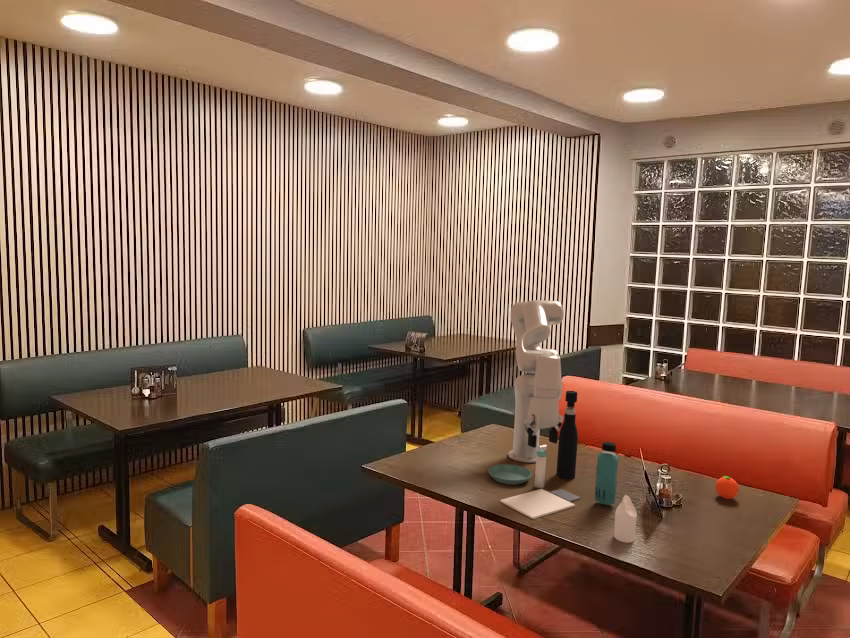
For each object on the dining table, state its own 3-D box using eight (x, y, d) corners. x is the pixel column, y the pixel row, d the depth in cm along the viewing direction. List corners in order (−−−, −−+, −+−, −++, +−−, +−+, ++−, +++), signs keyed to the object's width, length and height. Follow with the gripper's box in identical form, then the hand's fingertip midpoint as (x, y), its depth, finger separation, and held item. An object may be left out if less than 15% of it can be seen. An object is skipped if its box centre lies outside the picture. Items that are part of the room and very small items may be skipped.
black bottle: (554, 477, 210) (560, 392, 206) (557, 471, 215) (563, 388, 212) (573, 480, 207) (579, 395, 204) (576, 474, 213) (582, 391, 210)
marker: (539, 485, 202) (541, 449, 200) (546, 488, 199) (548, 451, 198) (532, 487, 200) (534, 450, 199) (539, 490, 197) (541, 453, 196)
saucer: (505, 468, 217) (506, 461, 217) (540, 480, 207) (540, 473, 207) (479, 477, 207) (479, 470, 207) (513, 491, 197) (514, 483, 196)
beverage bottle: (615, 503, 190) (620, 441, 188) (614, 511, 184) (620, 447, 182) (594, 499, 192) (599, 438, 190) (592, 507, 186) (597, 444, 184)
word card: (561, 490, 198) (561, 488, 198) (580, 498, 192) (580, 497, 192) (550, 493, 196) (550, 491, 196) (569, 502, 189) (569, 500, 189)
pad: (541, 490, 197) (541, 488, 197) (574, 506, 186) (574, 504, 186) (500, 501, 187) (500, 499, 187) (532, 519, 176) (532, 517, 176)
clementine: (709, 491, 203) (711, 471, 202) (730, 493, 202) (732, 472, 202) (719, 501, 195) (721, 480, 194) (741, 503, 194) (743, 481, 194)
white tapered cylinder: (634, 502, 161) (613, 496, 165) (631, 545, 163) (610, 538, 166) (641, 495, 166) (620, 489, 169) (637, 536, 168) (617, 530, 171)
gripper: (555, 388, 204) (552, 438, 205) (518, 392, 194) (515, 445, 195) (572, 392, 198) (569, 444, 199) (535, 397, 188) (531, 451, 189)
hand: (542, 444), depth 197 cm, fingers open, 9 cm apart
